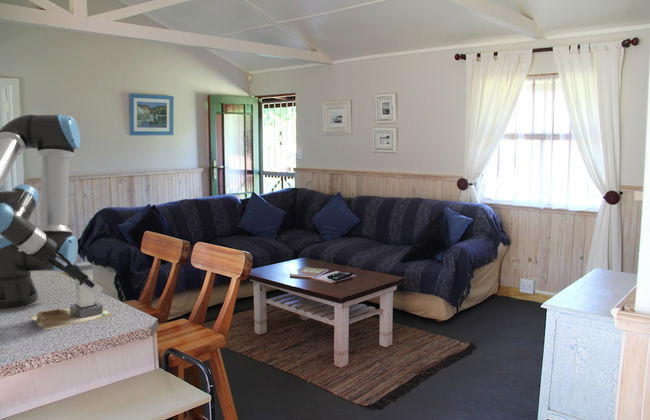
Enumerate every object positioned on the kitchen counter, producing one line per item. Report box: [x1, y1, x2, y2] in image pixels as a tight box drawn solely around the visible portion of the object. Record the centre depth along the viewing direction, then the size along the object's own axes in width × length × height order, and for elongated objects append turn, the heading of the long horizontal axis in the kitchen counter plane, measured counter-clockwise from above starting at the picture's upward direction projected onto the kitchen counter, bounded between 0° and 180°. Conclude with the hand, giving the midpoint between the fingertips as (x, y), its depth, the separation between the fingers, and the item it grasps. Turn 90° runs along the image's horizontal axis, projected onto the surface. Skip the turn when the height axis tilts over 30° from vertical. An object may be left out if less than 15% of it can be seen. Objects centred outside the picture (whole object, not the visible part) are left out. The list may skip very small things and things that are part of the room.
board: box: [29, 308, 115, 331], centre depth 175 cm, size 16×20×1 cm
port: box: [69, 300, 106, 318], centre depth 177 cm, size 10×8×2 cm
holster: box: [36, 308, 69, 325], centre depth 171 cm, size 7×7×2 cm
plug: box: [73, 261, 95, 307], centre depth 176 cm, size 4×4×13 cm
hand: (97, 290), depth 179 cm, fingers closed on plug, 4 cm apart
